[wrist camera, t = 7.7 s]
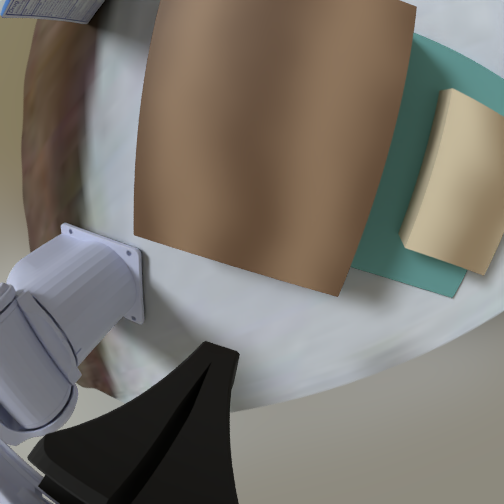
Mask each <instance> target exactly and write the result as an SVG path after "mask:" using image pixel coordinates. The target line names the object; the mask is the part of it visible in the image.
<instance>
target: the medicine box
mask: <svg viewBox="0 0 504 504" xmlns="http://www.w3.org/2000/svg"><path fill="white" fill-rule="evenodd" d="M104 1H105V0H0V15H1V16H2V18H36V19H48V20H60V21H68V22H75V23H81V24H88V23H89V21H90V20H91V18H92V17H93V16H94V14H95V13H96V11H97V10H98V9H99V7H100V6H101V5H102V4H103V2H104Z"/></svg>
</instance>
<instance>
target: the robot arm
mask: <svg viewBox="0 0 504 504" xmlns="http://www.w3.org/2000/svg"><path fill="white" fill-rule="evenodd" d="M61 231H62V234H60V235H59V236H57V237H55V238H54V239H52V240H50V241H49V242H47V243H45V244H44V245H42V246H41V247H39V248H37V249H36V250H34V251H33V252H31V253H30V254H28V255H27V256H25V257H24V258H22V259H21V260H20V261H18V262H17V263H16V264H15V266H14V267H13V269H12V270H11V272H10V274H9V276H8V279H7V282H6V283H3V282H1V283H0V504H53V503H51V502H50V501H48V500H46V499H45V498H43V497H42V493H43V494H44V495H45V496H47V497H48V498H49V499H50V500H52V501H53V502H55V503H56V504H239V503H238V498H237V494H236V488H235V481H234V475H233V468H232V459H231V448H230V424H229V423H230V421H229V420H230V398H231V389H232V386H233V383H234V379H235V374H236V370H237V365H238V360H239V355H240V354H239V353H238V352H237V351H235V350H231V349H228V348H225V347H222V346H219V345H216V344H213V343H210V342H207V341H205V342H203V343H202V344H201V345H200V346H199V347H198V348H197V349H196V350H195V351H194V352H193V353H192V354H191V355H190V356H189V357H188V358H187V359H186V360H185V361H183V362H182V363H181V364H180V365H179V366H178V367H177V368H175V369H174V370H173V371H172V372H171V373H169V374H168V375H167V376H166V377H165V378H163V379H162V380H161V381H159V382H158V383H157V384H155V385H154V386H152V387H151V388H150V389H148V390H147V391H145V392H144V393H142V394H141V395H139V396H138V397H136V398H135V399H133V400H131V401H129V402H128V403H126V404H124V405H123V406H121V407H119V408H117V409H115V410H113V411H111V412H109V413H107V414H105V415H102V416H100V417H98V418H95V419H93V420H90V421H87V422H85V423H82V424H80V425H77V426H74V427H71V428H67V429H63V430H59V431H57V430H58V429H60V428H61V427H62V426H63V425H64V424H65V423H66V422H67V421H68V420H69V418H70V417H71V415H72V413H73V411H74V409H75V406H76V403H77V399H78V389H77V386H76V384H75V383H76V382H77V380H78V379H79V378H80V377H81V376H82V375H81V373H80V371H79V370H78V368H77V367H78V366H79V364H80V363H81V362H82V361H83V360H84V359H85V358H86V356H87V355H88V354H89V353H90V352H91V351H92V350H93V349H94V348H95V346H96V345H97V344H98V343H99V342H100V341H101V340H102V339H103V338H104V336H105V335H106V334H107V333H108V332H109V331H110V330H111V329H112V328H113V327H114V326H115V324H116V323H117V322H118V321H119V320H120V319H121V318H122V317H124V318H126V319H129V320H131V321H133V322H135V323H138V324H143V322H144V306H143V288H142V260H141V252H140V250H139V249H137V248H135V247H132V246H129V245H127V244H124V243H121V242H118V241H115V240H112V239H109V238H107V237H104V236H101V235H98V234H95V233H92V232H90V231H87V230H84V229H81V228H79V227H76V226H73V225H70V224H68V223H63V224H62V225H61ZM129 251H130V252H131V253H130V252H129ZM55 431H56V432H55ZM44 435H45V436H44ZM39 436H44V437H43V438H42V439H41V440H40V441H39V442H38V443H37V444H36V446H35V447H34V449H33V450H32V451H31V453H30V454H29V455H28V460H29V461H30V462H31V463H32V464H33V465H34V466H36V467H37V468H38V469H39V470H40V471H42V472H43V473H44V474H45V477H43V476H41V475H40V474H39V473H38V472H37V471H35V470H34V469H33V468H32V467H31V466H29V464H27V463H26V462H25V461H24V460H23V459H22V458H21V457H20V456H19V455H17V454H16V453H15V452H14V451H13V450H12V449H11V448H10V447H9V446H8V445H7V444H9V445H13V446H17V445H19V444H20V443H22V442H24V441H25V440H27V439H30V438H33V437H39Z"/></svg>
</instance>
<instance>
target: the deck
mask: <svg viewBox="0 0 504 504" xmlns="http://www.w3.org/2000/svg"><path fill="white" fill-rule="evenodd" d="M416 8H417V7H416V6H413V5H411V4H408V3H405V2H403V1H400V0H160V4H159V8H158V12H157V16H156V20H155V25H154V29H153V34H152V38H151V43H150V49H149V54H148V59H147V65H146V71H145V77H144V84H143V91H142V98H141V106H140V115H139V125H138V135H137V147H136V162H135V182H134V235H135V236H138V237H142V238H145V239H148V240H151V241H154V242H157V243H160V244H164V245H167V246H170V247H173V248H176V249H179V250H183V251H186V252H189V253H192V254H195V255H199V256H202V257H205V258H208V259H212V260H215V261H218V262H221V263H225V264H228V265H231V266H234V267H238V268H241V269H244V270H248V271H251V272H254V273H258V274H261V275H264V276H268V277H271V278H274V279H278V280H281V281H285V282H288V283H291V284H295V285H298V286H302V287H305V288H309V289H312V290H315V291H319V292H322V293H326V294H329V295H333V296H336V297H338V296H339V293H340V291H341V289H342V286H343V284H344V281H345V279H346V276H347V274H348V271H349V269H350V266H351V264H352V261H353V258H354V256H355V253H356V250H357V248H358V245H359V242H360V240H361V237H362V234H363V231H364V228H365V226H366V223H367V220H368V217H369V214H370V211H371V208H372V205H373V202H374V199H375V196H376V193H377V189H378V186H379V183H380V180H381V176H382V173H383V170H384V166H385V163H386V159H387V156H388V152H389V148H390V145H391V141H392V137H393V133H394V129H395V125H396V121H397V117H398V113H399V109H400V104H401V100H402V95H403V90H404V86H405V81H406V75H407V70H408V65H409V59H410V53H411V47H412V40H413V33H414V26H415V17H416Z"/></svg>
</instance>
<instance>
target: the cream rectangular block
mask: <svg viewBox="0 0 504 504" xmlns="http://www.w3.org/2000/svg"><path fill="white" fill-rule="evenodd" d="M503 233H504V117H503V116H502V115H500V114H498V113H497V112H495V111H494V110H492V109H490V108H488V107H487V106H485V105H483V104H482V103H480V102H478V101H476V100H474V99H473V98H471V97H469V96H467V95H465V94H463V93H461V92H459V91H457V90H455V89H453V88H451V89H446V90H440V91H439V96H438V101H437V106H436V111H435V115H434V119H433V124H432V128H431V132H430V136H429V140H428V144H427V148H426V151H425V155H424V158H423V162H422V165H421V169H420V172H419V175H418V178H417V182H416V185H415V188H414V191H413V194H412V197H411V200H410V203H409V206H408V209H407V211H406V214H405V217H404V220H403V222H402V225H401V228H400V230H399V233H398V234H399V236H400V239H401V241H402V243H403V245H404V247H405V248H407V249H410V250H413V251H416V252H419V253H422V254H425V255H427V256H430V257H433V258H436V259H439V260H442V261H445V262H448V263H451V264H453V265H456V266H459V267H462V268H464V269H467V270H470V271H473V272H475V273H478V274H481V275H483V276H484V274H485V272H486V270H487V268H488V266H489V264H490V262H491V260H492V258H493V256H494V254H495V252H496V249H497V247H498V245H499V243H500V240H501V238H502V236H503Z"/></svg>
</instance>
